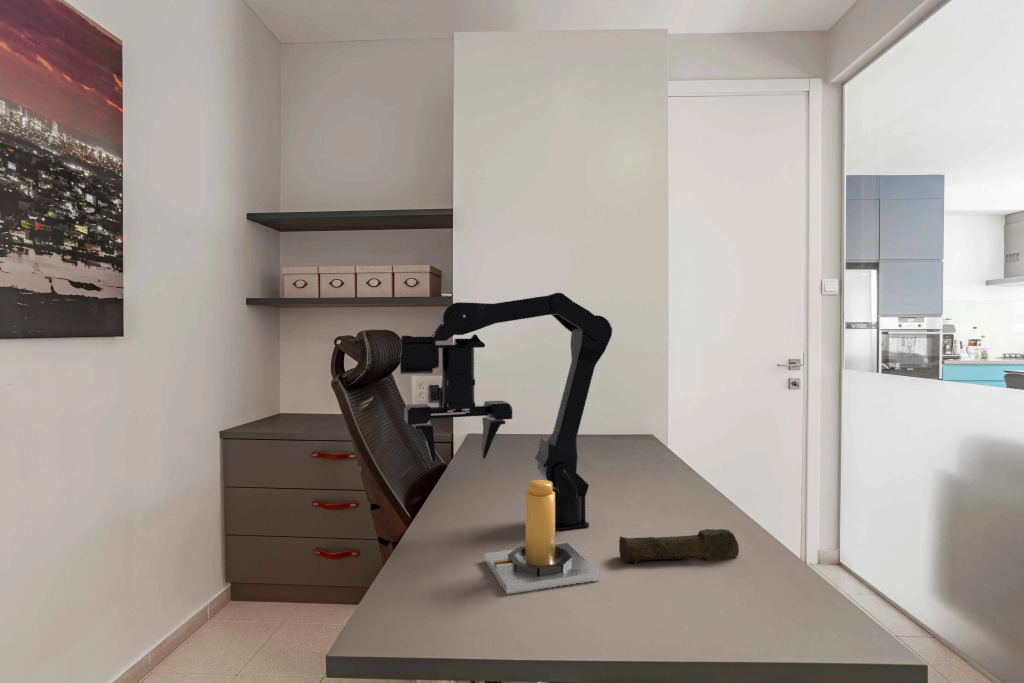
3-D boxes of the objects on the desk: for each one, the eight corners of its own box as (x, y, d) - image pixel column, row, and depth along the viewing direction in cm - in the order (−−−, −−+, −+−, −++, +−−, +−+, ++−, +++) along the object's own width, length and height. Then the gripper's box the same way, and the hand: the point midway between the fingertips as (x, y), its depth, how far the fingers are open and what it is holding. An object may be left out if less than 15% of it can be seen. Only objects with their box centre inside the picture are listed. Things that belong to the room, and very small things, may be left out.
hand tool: (623, 568, 87) (623, 537, 87) (617, 557, 91) (617, 528, 91) (745, 566, 87) (745, 536, 87) (734, 555, 91) (734, 526, 91)
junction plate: (567, 550, 93) (567, 536, 93) (599, 580, 82) (599, 565, 82) (484, 561, 89) (484, 547, 89) (506, 594, 78) (506, 578, 78)
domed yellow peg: (553, 556, 88) (553, 478, 87) (556, 568, 83) (556, 487, 83) (524, 556, 88) (525, 479, 87) (526, 568, 83) (526, 487, 83)
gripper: (496, 369, 112) (496, 447, 112) (400, 371, 107) (401, 454, 107) (513, 372, 102) (513, 459, 102) (407, 375, 96) (408, 467, 96)
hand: (458, 460), depth 102 cm, fingers open, 9 cm apart
